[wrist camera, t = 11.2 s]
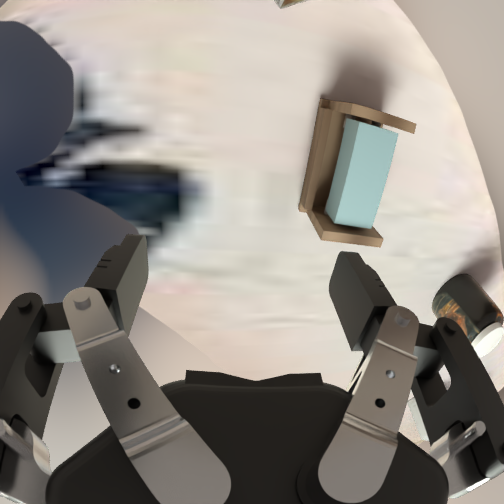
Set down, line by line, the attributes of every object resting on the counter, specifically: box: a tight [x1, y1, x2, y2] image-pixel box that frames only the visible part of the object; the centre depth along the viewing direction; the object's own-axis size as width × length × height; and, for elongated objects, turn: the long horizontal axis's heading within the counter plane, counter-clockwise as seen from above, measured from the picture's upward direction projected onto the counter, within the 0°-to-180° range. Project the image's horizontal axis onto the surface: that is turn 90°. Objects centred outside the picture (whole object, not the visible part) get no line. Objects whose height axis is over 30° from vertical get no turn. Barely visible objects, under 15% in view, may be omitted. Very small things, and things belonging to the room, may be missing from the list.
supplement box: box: [407, 398, 429, 441], centre depth 68 cm, size 9×9×15 cm
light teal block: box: [325, 118, 398, 229], centre depth 32 cm, size 5×12×4 cm, turn 172°
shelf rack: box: [298, 98, 416, 247], centre depth 33 cm, size 9×16×9 cm, turn 172°
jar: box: [432, 274, 504, 358], centre depth 45 cm, size 12×12×15 cm
